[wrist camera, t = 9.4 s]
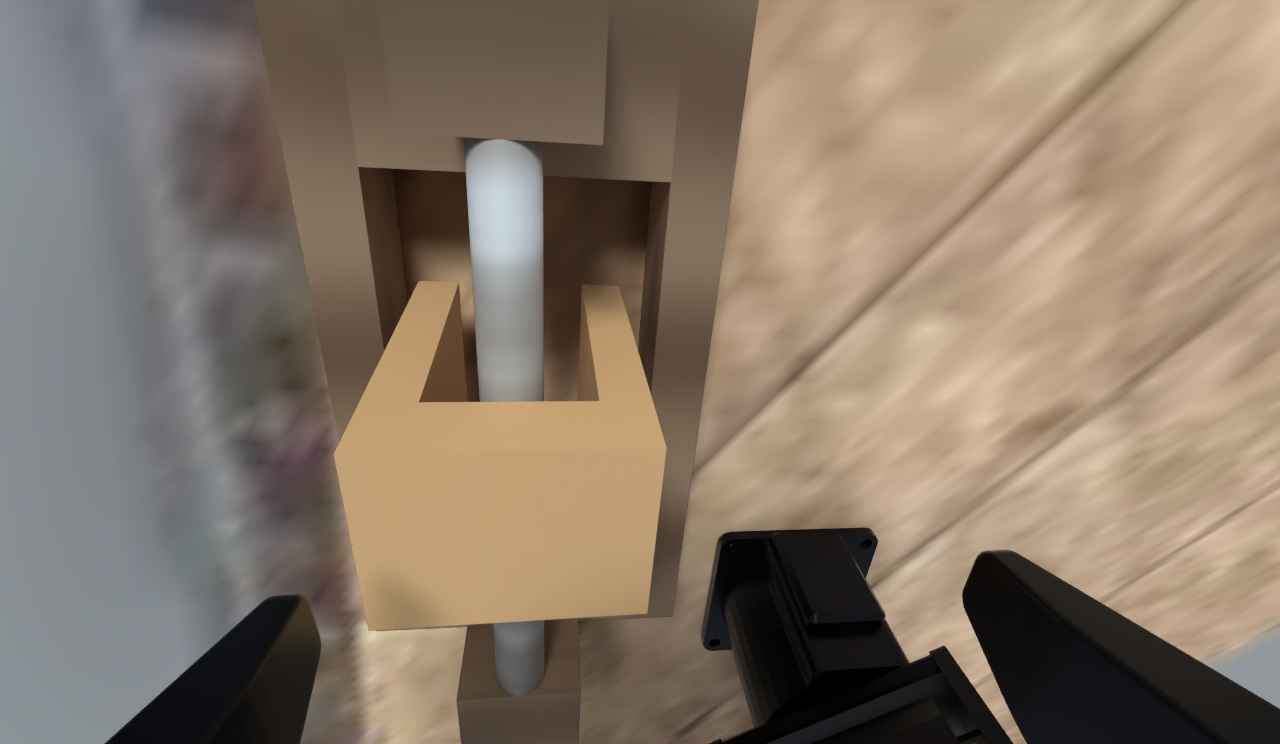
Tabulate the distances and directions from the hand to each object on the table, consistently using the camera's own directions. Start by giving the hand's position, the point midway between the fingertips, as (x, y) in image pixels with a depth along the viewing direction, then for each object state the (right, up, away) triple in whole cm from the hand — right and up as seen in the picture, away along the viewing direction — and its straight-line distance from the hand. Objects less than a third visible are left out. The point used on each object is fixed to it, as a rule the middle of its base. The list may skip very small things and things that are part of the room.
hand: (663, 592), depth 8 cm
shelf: (-4, +5, +11) cm, 12 cm away
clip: (-4, +4, +9) cm, 10 cm away
